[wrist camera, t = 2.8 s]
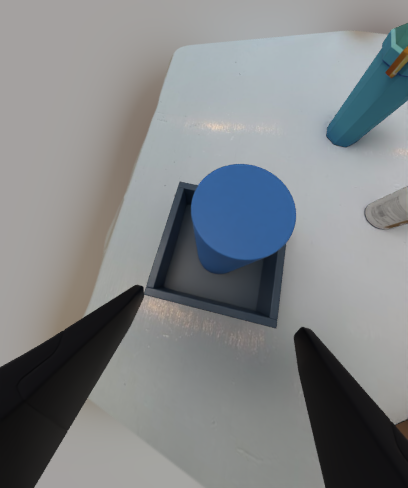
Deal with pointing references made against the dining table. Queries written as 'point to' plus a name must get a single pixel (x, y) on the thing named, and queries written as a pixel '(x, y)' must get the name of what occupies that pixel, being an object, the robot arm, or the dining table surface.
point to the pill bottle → (389, 210)
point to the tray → (209, 284)
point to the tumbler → (240, 217)
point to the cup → (374, 92)
